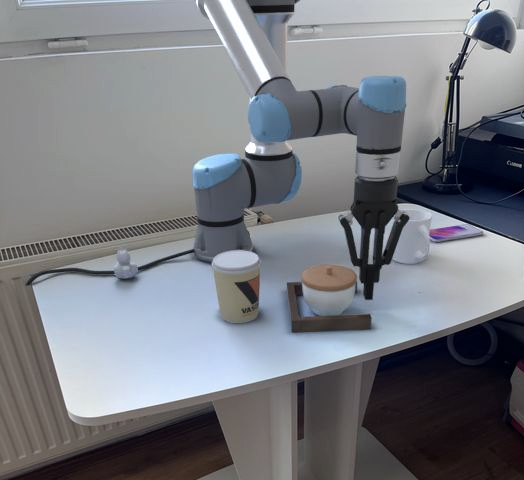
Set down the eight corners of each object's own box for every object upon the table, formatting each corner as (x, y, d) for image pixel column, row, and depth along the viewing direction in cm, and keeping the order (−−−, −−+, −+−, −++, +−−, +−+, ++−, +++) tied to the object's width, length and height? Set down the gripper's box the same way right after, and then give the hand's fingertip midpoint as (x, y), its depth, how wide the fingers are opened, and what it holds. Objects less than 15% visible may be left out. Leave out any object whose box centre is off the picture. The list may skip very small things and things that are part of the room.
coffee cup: (246, 329, 98) (242, 272, 91) (207, 318, 102) (201, 262, 96) (271, 309, 104) (269, 254, 98) (233, 300, 109) (230, 246, 102)
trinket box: (353, 298, 107) (356, 256, 102) (355, 323, 98) (358, 278, 93) (302, 297, 109) (302, 256, 104) (300, 322, 100) (300, 278, 95)
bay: (291, 332, 96) (291, 320, 95) (286, 292, 111) (286, 282, 109) (370, 329, 96) (371, 317, 95) (355, 290, 111) (356, 279, 109)
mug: (409, 272, 117) (415, 227, 112) (382, 254, 127) (386, 211, 121) (441, 266, 119) (448, 222, 114) (412, 249, 129) (418, 207, 123)
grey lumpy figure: (137, 271, 124) (131, 239, 119) (141, 281, 118) (135, 249, 114) (114, 275, 122) (107, 243, 118) (117, 285, 117) (110, 252, 113)
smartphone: (484, 232, 135) (435, 240, 131) (484, 235, 135) (434, 243, 132) (467, 223, 141) (420, 230, 137) (467, 226, 141) (419, 233, 138)
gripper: (342, 183, 86) (338, 307, 99) (419, 179, 86) (404, 304, 99) (336, 172, 93) (332, 290, 105) (408, 169, 93) (395, 287, 105)
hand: (367, 296), depth 102 cm, fingers closed
